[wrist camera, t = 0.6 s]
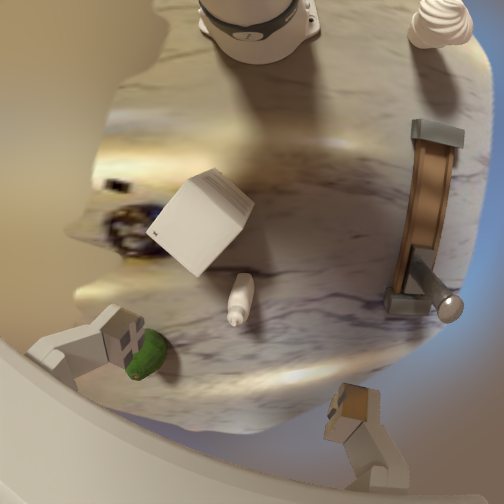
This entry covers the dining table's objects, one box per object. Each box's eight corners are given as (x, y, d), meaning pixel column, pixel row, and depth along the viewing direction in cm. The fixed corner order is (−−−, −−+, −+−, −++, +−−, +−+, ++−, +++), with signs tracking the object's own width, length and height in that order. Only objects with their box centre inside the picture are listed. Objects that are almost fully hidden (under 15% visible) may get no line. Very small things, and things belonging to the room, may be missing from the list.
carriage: (410, 244, 48) (448, 282, 34) (431, 246, 47) (471, 283, 34) (400, 287, 50) (430, 335, 37) (420, 289, 50) (453, 335, 36)
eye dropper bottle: (263, 280, 55) (257, 317, 43) (248, 304, 57) (238, 344, 45) (241, 267, 54) (229, 302, 43) (226, 292, 56) (211, 330, 45)
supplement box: (220, 242, 53) (196, 281, 39) (180, 206, 52) (142, 233, 38) (257, 203, 50) (245, 230, 36) (215, 165, 49) (186, 177, 35)
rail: (412, 119, 42) (421, 118, 39) (455, 130, 42) (466, 130, 38) (382, 302, 54) (388, 314, 50) (422, 304, 53) (429, 315, 49)
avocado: (144, 352, 64) (122, 388, 53) (132, 321, 61) (106, 356, 50) (177, 352, 63) (158, 391, 51) (167, 320, 60) (144, 357, 49)
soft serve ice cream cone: (444, 62, 38) (495, 42, 23) (400, 58, 39) (442, 31, 24) (434, 19, 35) (479, -13, 20) (390, 13, 36) (425, -26, 21)
